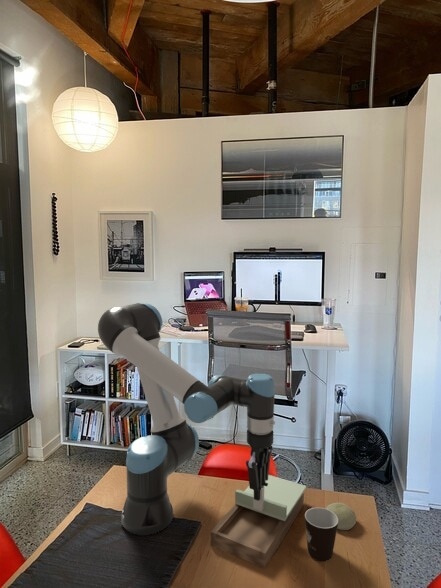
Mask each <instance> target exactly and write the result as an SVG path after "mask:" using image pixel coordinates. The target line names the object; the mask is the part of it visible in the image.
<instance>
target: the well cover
mask: <svg viewBox="0 0 441 588" xmlns="http://www.w3.org/2000/svg"><path fill="white" fill-rule="evenodd" d="M266 483H268V486H264V509H263V510H262V511H260V510H258V509H255V508H253V495H254V490H253V489H250V486H249V485H248V486H247V487H246V489H245V490H241V489H236V490H235V492H234V494H235V495H234V497H235V498H234V505H235V504H237V505H240V506H243V507H246V508H249V509H251V510H254V511H257V512H260V513H263V514H266V515H268V516H271V517H274V518H277V519H280V520H283V521H285V520H286V519H287V517H288V516H289V514H290V513H291V511H292V510H293V508H294V507H295V505H296V503H297V502H298V500H299V499H300V497H301V496H302V494H305V491H306V490H307V486H306V484H305V485H304V484H301V483H298V482H294V481H290V480H287V479H286V478H285V479H283V478H281V477H277V476H274V475H272V474H269V475H268V480H267V481H266Z"/></svg>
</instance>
